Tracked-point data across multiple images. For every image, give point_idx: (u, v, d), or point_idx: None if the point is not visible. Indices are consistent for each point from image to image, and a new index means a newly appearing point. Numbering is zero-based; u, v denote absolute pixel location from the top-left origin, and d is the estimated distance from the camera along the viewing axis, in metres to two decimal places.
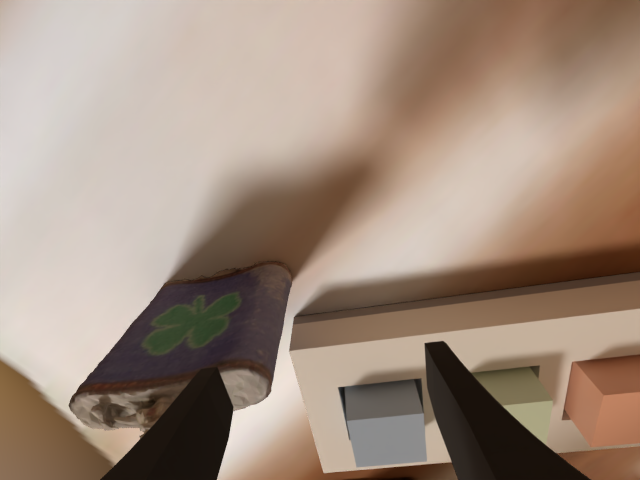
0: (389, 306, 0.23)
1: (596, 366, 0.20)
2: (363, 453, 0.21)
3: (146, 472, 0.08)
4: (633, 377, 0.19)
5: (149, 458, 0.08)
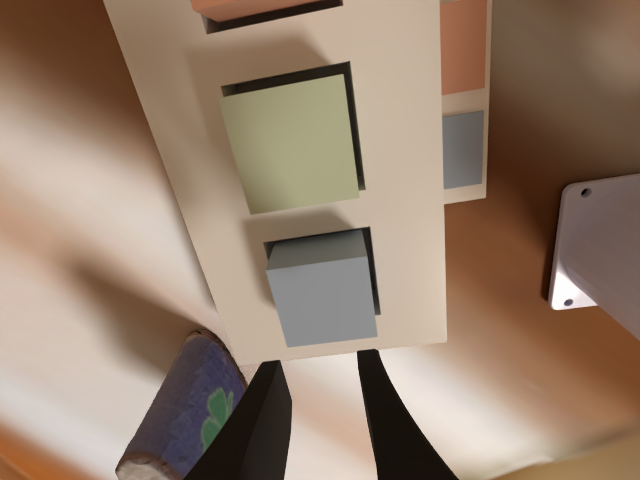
0: None
1: None
2: (348, 330, 0.16)
3: (235, 464, 0.08)
4: None
5: (235, 450, 0.08)
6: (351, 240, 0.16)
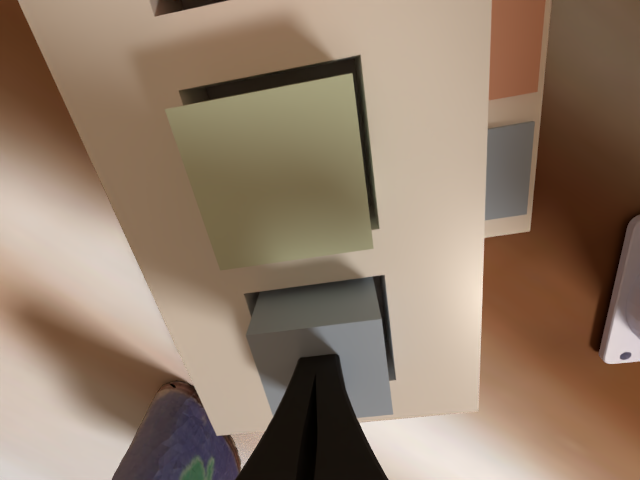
0: None
1: None
2: (355, 406, 0.12)
3: (291, 459, 0.08)
4: None
5: (288, 445, 0.08)
6: (359, 290, 0.12)
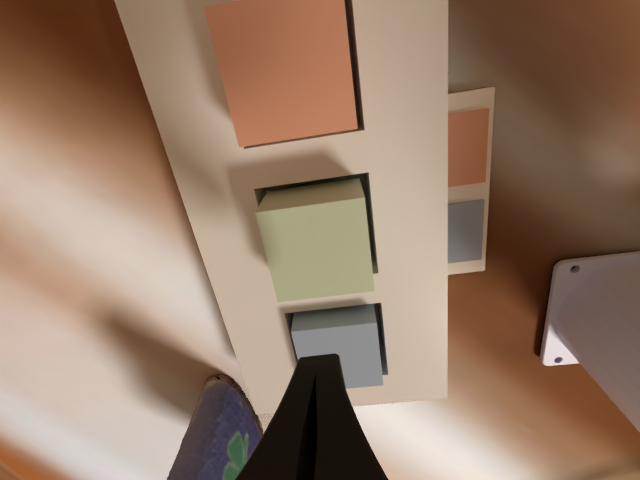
0: None
1: None
2: (358, 379, 0.19)
3: (291, 459, 0.08)
4: None
5: (288, 445, 0.08)
6: None
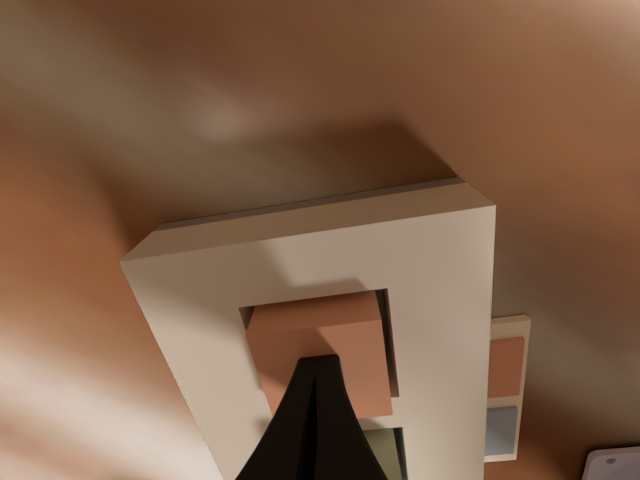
0: None
1: None
2: None
3: (290, 459, 0.08)
4: None
5: (288, 445, 0.08)
6: None
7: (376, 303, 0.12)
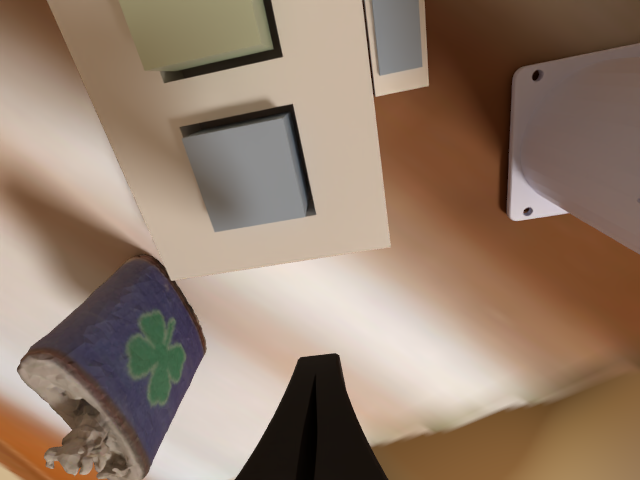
0: None
1: None
2: (274, 209, 0.16)
3: (291, 459, 0.08)
4: None
5: (288, 445, 0.08)
6: (275, 116, 0.16)
7: None
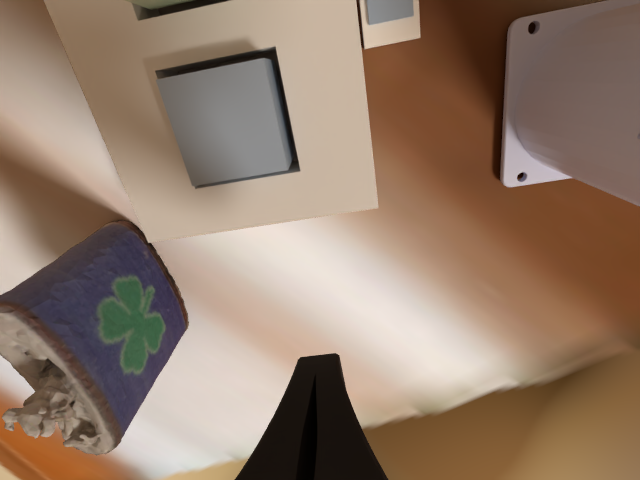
0: None
1: None
2: (255, 161, 0.15)
3: (291, 459, 0.08)
4: None
5: (288, 445, 0.08)
6: None
7: None
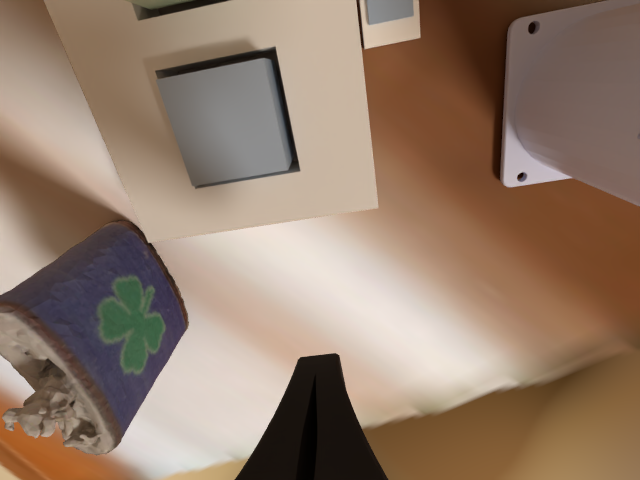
0: None
1: None
2: (255, 161, 0.15)
3: (291, 459, 0.08)
4: None
5: (288, 445, 0.08)
6: None
7: None
